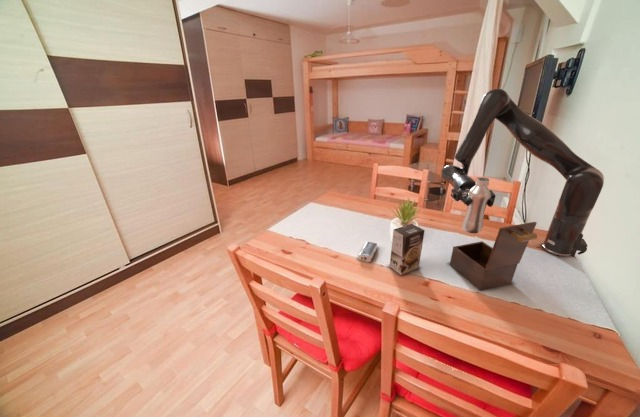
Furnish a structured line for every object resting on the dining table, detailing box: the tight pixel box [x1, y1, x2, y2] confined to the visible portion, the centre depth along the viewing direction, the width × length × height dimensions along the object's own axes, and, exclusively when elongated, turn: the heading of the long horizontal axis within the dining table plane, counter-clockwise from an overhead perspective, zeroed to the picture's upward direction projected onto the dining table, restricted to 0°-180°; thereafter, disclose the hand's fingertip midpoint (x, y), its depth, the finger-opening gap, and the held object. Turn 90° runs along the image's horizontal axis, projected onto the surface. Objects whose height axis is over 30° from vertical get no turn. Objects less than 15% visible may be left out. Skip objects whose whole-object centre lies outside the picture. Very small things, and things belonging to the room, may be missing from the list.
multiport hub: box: [358, 241, 378, 263], centre depth 106 cm, size 4×11×2 cm, turn 154°
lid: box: [485, 221, 538, 270], centre depth 78 cm, size 15×13×5 cm
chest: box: [449, 241, 518, 291], centre depth 92 cm, size 15×13×8 cm
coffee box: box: [389, 223, 426, 276], centre depth 95 cm, size 9×6×16 cm
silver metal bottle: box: [461, 176, 491, 234], centre depth 91 cm, size 6×7×20 cm
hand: (480, 203), depth 88 cm, fingers closed on silver metal bottle, 6 cm apart
